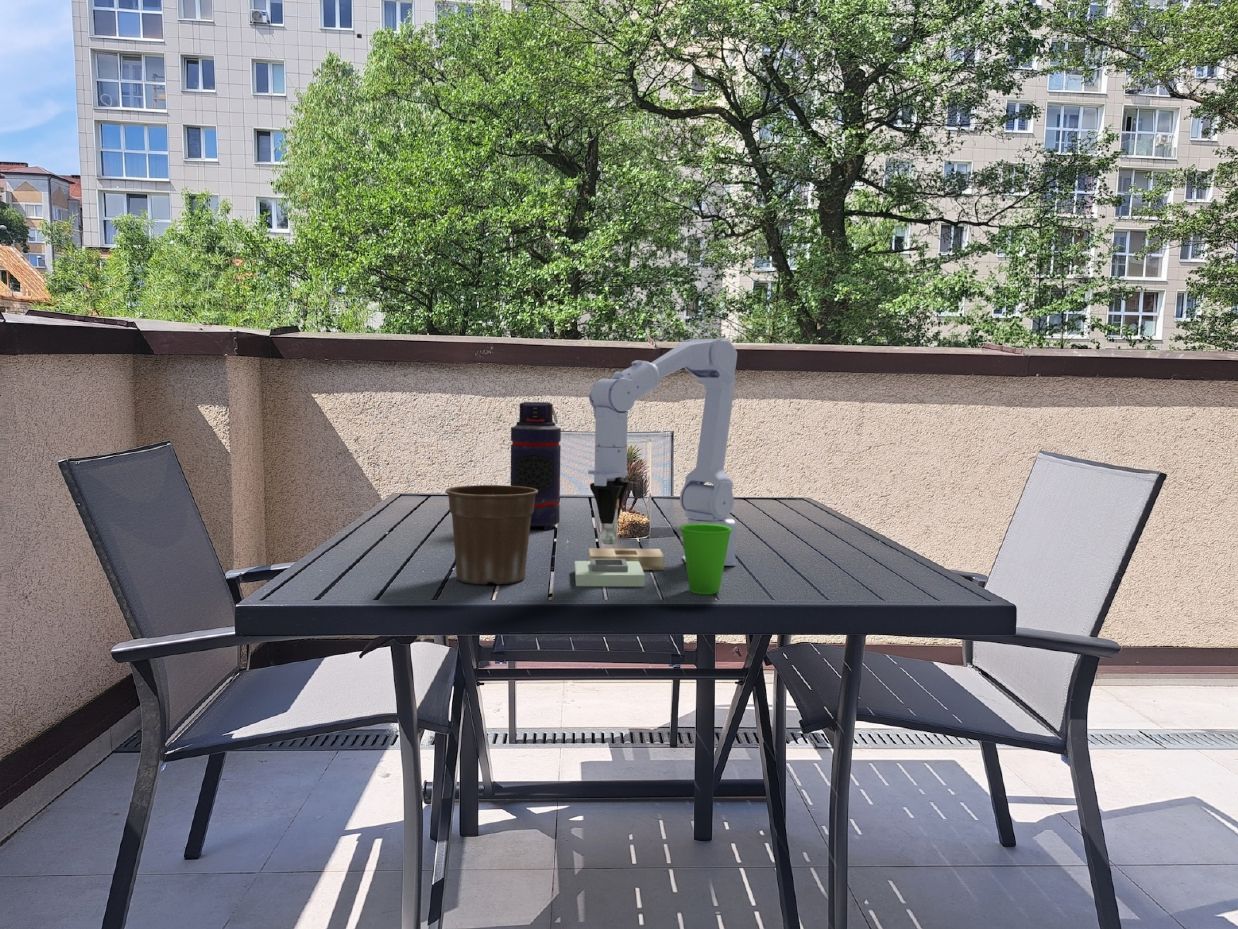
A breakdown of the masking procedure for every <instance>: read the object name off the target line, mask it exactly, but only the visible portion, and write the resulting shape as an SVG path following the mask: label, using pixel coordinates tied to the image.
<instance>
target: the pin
mask: <svg viewBox="0 0 1238 929" xmlns="http://www.w3.org/2000/svg"><path fill="white" fill-rule="evenodd" d="M618 508H619V499H618V500H617V504H616V510H615V517H614V521H613V524H604V523H601V522H600V534H599V535H600V536H599V537H600V538H599V539H600V542H599V543H600V544H602V545H616V544H618V521H617V517H618Z"/></svg>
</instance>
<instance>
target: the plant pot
mask: <svg viewBox="0 0 1238 929" xmlns="http://www.w3.org/2000/svg"><path fill="white" fill-rule="evenodd" d="M445 493H446V494H447V496H448V504H449V505H448V506H449V513H450V514H451V519H452V520H451V521H452V530H453V542H454V543H453V544H454V556H455V570H456V571H455V572H456V573H455V574H456V578H457V580H459V581H460V582H463V583H466V584H471V585H488V583H494V584H495V585H506V584H508V585H509V584H516V583H518V582H521V581H523V580H524V579H525V578H526V573H527V572H526V571H527V559H528V550H529V549H528V548H529V541H530V540H529V539H530V533H531V532H530V531H531V530H530V529H531V526H530V523H531V514H532V513H533V511H534V502H535V495H536V494H537V493H538V490H537V489H534V488H529V487H520V486H511V485H504V484H503V485H501V484H498V485H497V484H482V485H480V484H477V485H463V486H462V485H461V486H458V485H457V486H452V487H448V488H446V489H445Z"/></svg>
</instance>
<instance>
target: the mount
mask: <svg viewBox="0 0 1238 929" xmlns="http://www.w3.org/2000/svg"><path fill="white" fill-rule="evenodd" d="M590 559H625V560H626V561H639V563H640V565H641V567H642V569H643V571H644V570H648V571H649V570H651V571H656V570H658V571H659V570H660V571H661V570H664V569H665V555H664V554H663V552H662V551H661V549H660V548H606V547H605V548H601V547H600V548H597V547H596V548H594V547H593V548H592V547H591V548H588V561H590Z"/></svg>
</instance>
